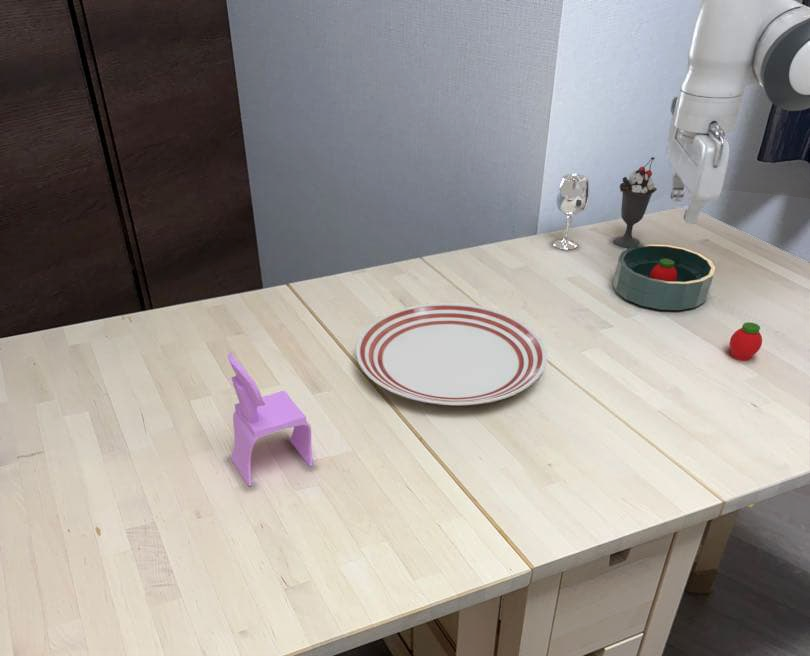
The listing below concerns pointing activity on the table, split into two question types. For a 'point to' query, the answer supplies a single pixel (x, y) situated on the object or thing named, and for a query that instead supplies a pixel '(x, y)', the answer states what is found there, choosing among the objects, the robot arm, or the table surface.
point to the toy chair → (263, 420)
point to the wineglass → (571, 202)
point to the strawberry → (664, 271)
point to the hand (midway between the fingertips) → (682, 210)
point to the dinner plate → (451, 354)
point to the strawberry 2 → (746, 341)
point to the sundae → (634, 202)
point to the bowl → (658, 293)
